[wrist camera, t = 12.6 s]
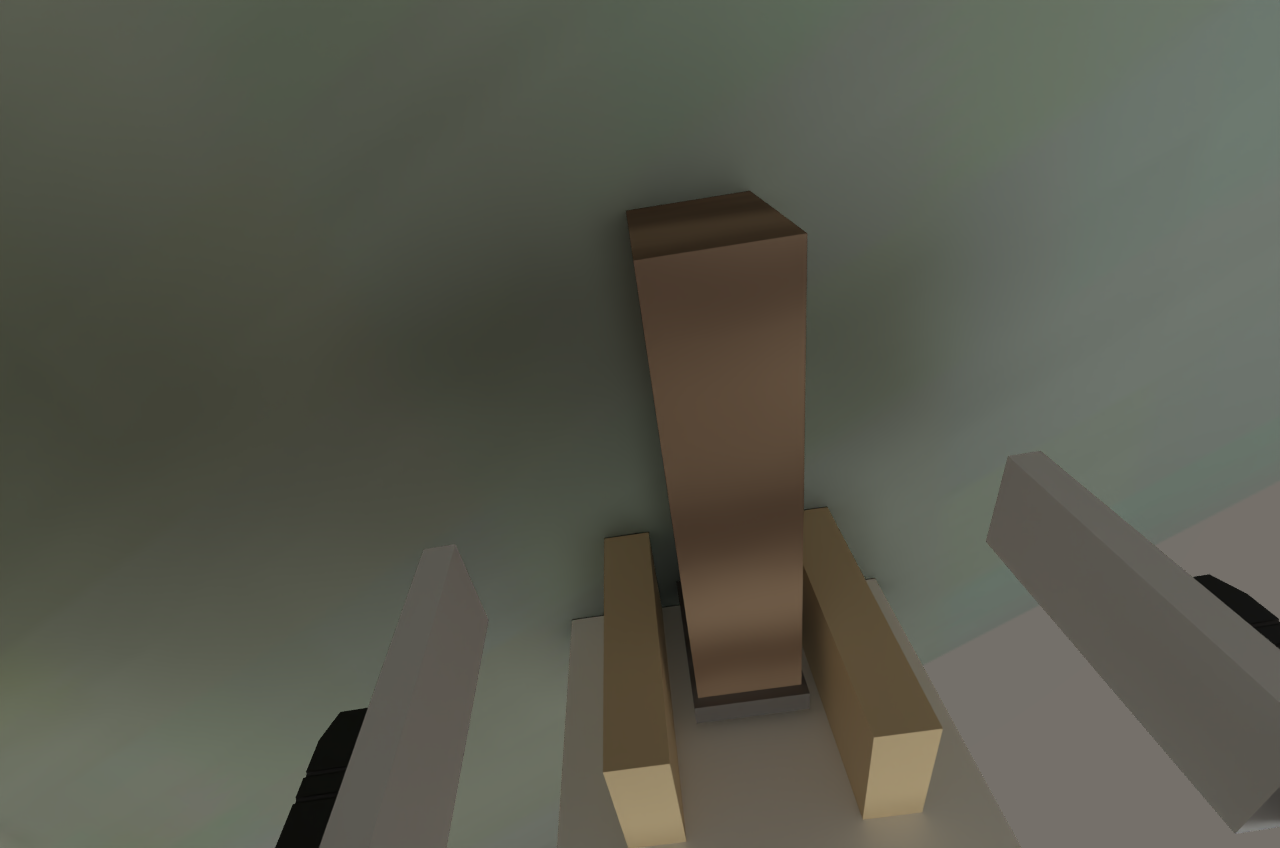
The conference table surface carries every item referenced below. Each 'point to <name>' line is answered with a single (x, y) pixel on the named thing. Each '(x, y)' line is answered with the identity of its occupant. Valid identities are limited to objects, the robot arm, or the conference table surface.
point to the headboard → (764, 729)
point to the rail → (731, 438)
